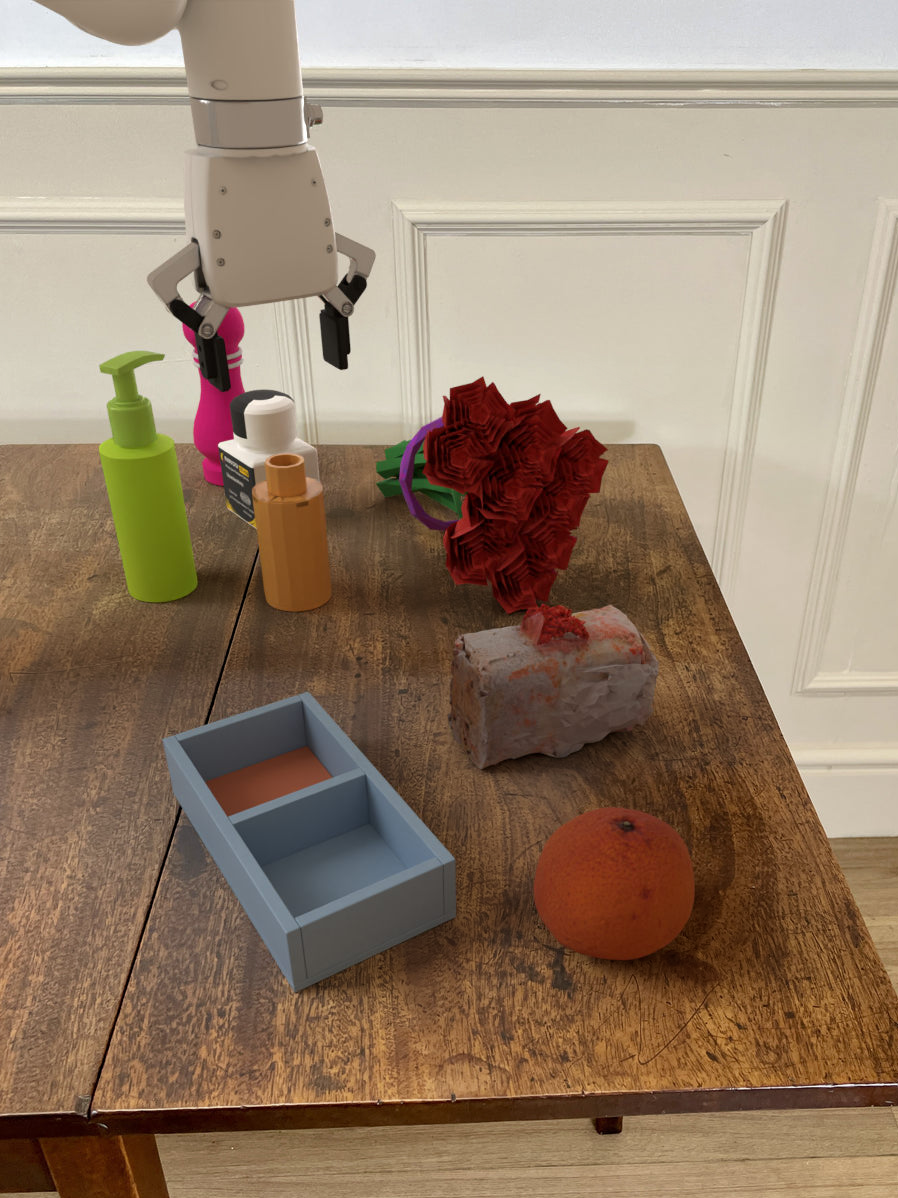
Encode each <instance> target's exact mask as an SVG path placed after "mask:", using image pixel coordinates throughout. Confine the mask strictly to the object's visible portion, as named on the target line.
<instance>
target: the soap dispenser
mask: <svg viewBox="0 0 898 1198" xmlns="http://www.w3.org/2000/svg"><path fill="white" fill-rule="evenodd" d="M165 357H166V354H164V353H161V352H154V351H149V350H132V351H127V352H124V353H122V354H119V355H116V356H114V357H112V358H109V359H108V360H106V361H104V362H102V363H101V364H100V363H99V365H98V367H99V372H100V373H101V374H105V375H106V374H107V375H111V377H112V382H113V383H112V384H113V388H114V393H115V396H114V397H113V398H112V399H110V400H109V401H108V402H106V410H107V415H108V420H109V424H110V431H111V435H112V437H109V438H108V439H106V440H104V441H103V442H101V443H100V445H99V447H98V452H99V458H100V463H101V467H102V472H103V476H104V481H105V486H106V491H107V495H108V501H109V505H110V510H111V514H112V519H113V523H114V529H115V533H116V537H117V543H118V548H119V552H120V557H121V562H122V566H123V571H124V576H125V581H126V585H127V590H128V593H129V595H130V596H131V597H132V598H134V599H135V600H138V601H140V602H144V603H166V602H167V603H168V602H172V601H177V600H179V599H182V598H184V597H187V596H188V595H190V594H191V593H193V592H194V591H195V590H196V588H197V586H198V583H199V582H198V575H197V570H196V564H195V557H194V551H193V546H192V539H191V534H190V528H189V522H188V516H187V515H188V514H187V511H186V505H185V504H186V503H185V497H184V492H183V486H182V479H181V474H180V469H179V468H180V467H179V462H178V456H177V450H176V445H175V440H174V439H173V438H172V437H171V436H169V435H166V434H163V433H161V432H160V433H159V432H157V427H156V421H155V417H154V410H153V405H152V401H151V399H149V398H148V397H146V396H143V395H141V394H139V391H138V390H139V389H138V385H137V379H136V374H135V369H138V368H140V367H142V366H144V365H146V364H149V363H153V362H160V361H163V360H164V359H165Z"/></svg>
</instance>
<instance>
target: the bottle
mask: <svg viewBox="0 0 898 1198" xmlns="http://www.w3.org/2000/svg"><path fill="white" fill-rule="evenodd" d="M265 471H266V480H264V481H262V482H259V483H257V484H256V485H255V486H254V487H253V488H252V498H253V506H254V513H255V521H256V529H255V530H256V536H257V544H258V551H259V559H260V560H259V561H260V567H261V575H262V576H261V577H262V583H263V591H264V592H263V593H264V596H265V601H266V603H267V604H268V605H269V606H271V608H274V609H276V610H279V611H284V612H291V613H292V612H295V613H297V612H304V611H307V612H308V611H310V610H315V609H317V608H320V607H322V606H323V605H325V604H327V603H328V602H329V601H330V600H331V599H332V598H331V597H332V594H333V593H332V592H333V591H332V579H331V568H330V557H329V544H328V533H327V522H326V511H325V509H326V508H325V497H324V487H323V484H322V483H321V481H320V482H318V481H317V480H315V479H312V478H309V477H306V471H305V461H304V458H303V457H302V456H300V455H297V454H293V453H281V454H276V455H272V456H270V457H268V458H266V460H265Z"/></svg>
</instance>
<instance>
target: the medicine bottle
mask: <svg viewBox="0 0 898 1198" xmlns="http://www.w3.org/2000/svg"><path fill="white" fill-rule="evenodd" d="M295 403H296V402H295V400H294V398H292V396H290V395H289V394H287V393H285V392H281V391H279V390H275V389H253V390H249V391H245V393H243V394H241V395H238V396H236V397H235V398H234V399H233V400H232V401H231V403H230V412H231V419H232V427H233V434H234V439H233V440H228V441H224V442H220V443H219V444H218V449H219V456H220V463H221V470H222V477H223V484H224V486H223V490H224V491H223V492H224V497H225V505H226V508H227V510H228V511H230V512H231V513H232V514H234V515H236V516H237V517H238V518H239V519H241V520H243V522H245V523H246V524H248V525H250V526H251V527H252V528H254V530H257V529H256V521H255V513H254V506H253V498H252V488H253V487H254V486H255V485H256V484H257V483H259V482H262V481H264V480H266V471H265V460H266V458H268V457H270V456H272V455H276V454H281V453H293V454H297V455H300V456H302V457H303V458H304V461H305V471H306V477H309V478H312V479H315V480H317V481H318V482H320V483H321V480H320V471H319V458H318V457H319V456H318V450H317V448H316V447H314V446H312V445H311V444H309V443H308V442H306V441H304V440H302V439H300V438H299V437H298V426H297V415H296V405H295Z"/></svg>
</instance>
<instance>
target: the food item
mask: <svg viewBox="0 0 898 1198" xmlns="http://www.w3.org/2000/svg"><path fill="white" fill-rule="evenodd" d="M572 610H573V609H571V608H567V607H566V606H565V605H560V604H557V605H554V606H552V607H551V606H549V605H547V604H545V603H541V605H540V607H539V606H538V607H536V608H529V609H526V612H525V615H523V616H522V620H521V623H520V624H519V625H511V626H509V625H508V626H504V627H500V628H498V627H497V628H492V629H486V630H479V631H477V632H475V633H474V632H468V633H465V634H462V633H461V634H459V635H458V638H457V639H456V640H455V641H454V643H453V645H454V649H453V651H452V655H453V657H452V659H451V662H450V674H451V677H452V678H451V679H450V681H449V703H448V704H449V705H450V712H449V713H448V714H447V721H448V722H447V723H448V727H449V729H450V731H451V733H452V735H451V736H452V737H453V739H454V740H455V741H456V743H458V744H459V745H460V746H461V748H463V750H464V752H465V753H466V755H467V756H468V757H469V758H470V759H469V760H471V761H472V763H473V764H474V765H475V766H476V768H478V769H479V770H483V769H486V768H487V767H490V766H495V765H497V764H498V763H501V762H503V761H505V760H510V759H512V760H515V759H518V758H521V757H523V756H527V755H530V754H537V753H540V754H544V755H546V756H549V757H553V758H556V759H558V758H561V759H562V758H567V757H568V756H569V755H570V754H573V753H575V752H579V751H580V750H581V749H582V748H583V746H584V745H585V744H594V743H597V742H600V741H602V740H603V739H604V738H605V737H607V736H608V734H611V733H618V732H619V733H621V732H622V733H630V731H632V730H633V729H634V727H635V726H637V725H638V726H639V725H640V726H644V724H645V723H646V722H647V720H648V719H650V718H651V716H652V715H653V714H654V708H653V703H654V701H655V688H656V686H657V679H658V677H659V672H660V668H659V665H660V661H659V660H658V659H657V658H656V655H655V653H654V652H653V651H652V650H650V648H651V647H650V644H649V643H648V641H647V640H646V638H645V637H644V635H643V634H642V633H641V631H640V630H639V629H638V628H637V627H636V626H635V624H634V623H633V622H632V621H631V620H630V619H629V618H628V616H627V614H626V613H624V612H622V611H621V610H620V609H618V608H617V607H615V606H614V605H613V604H608V605H605V606H603V607H600V608H592V609H590V610H582V611H578V612H574V613H572Z"/></svg>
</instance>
